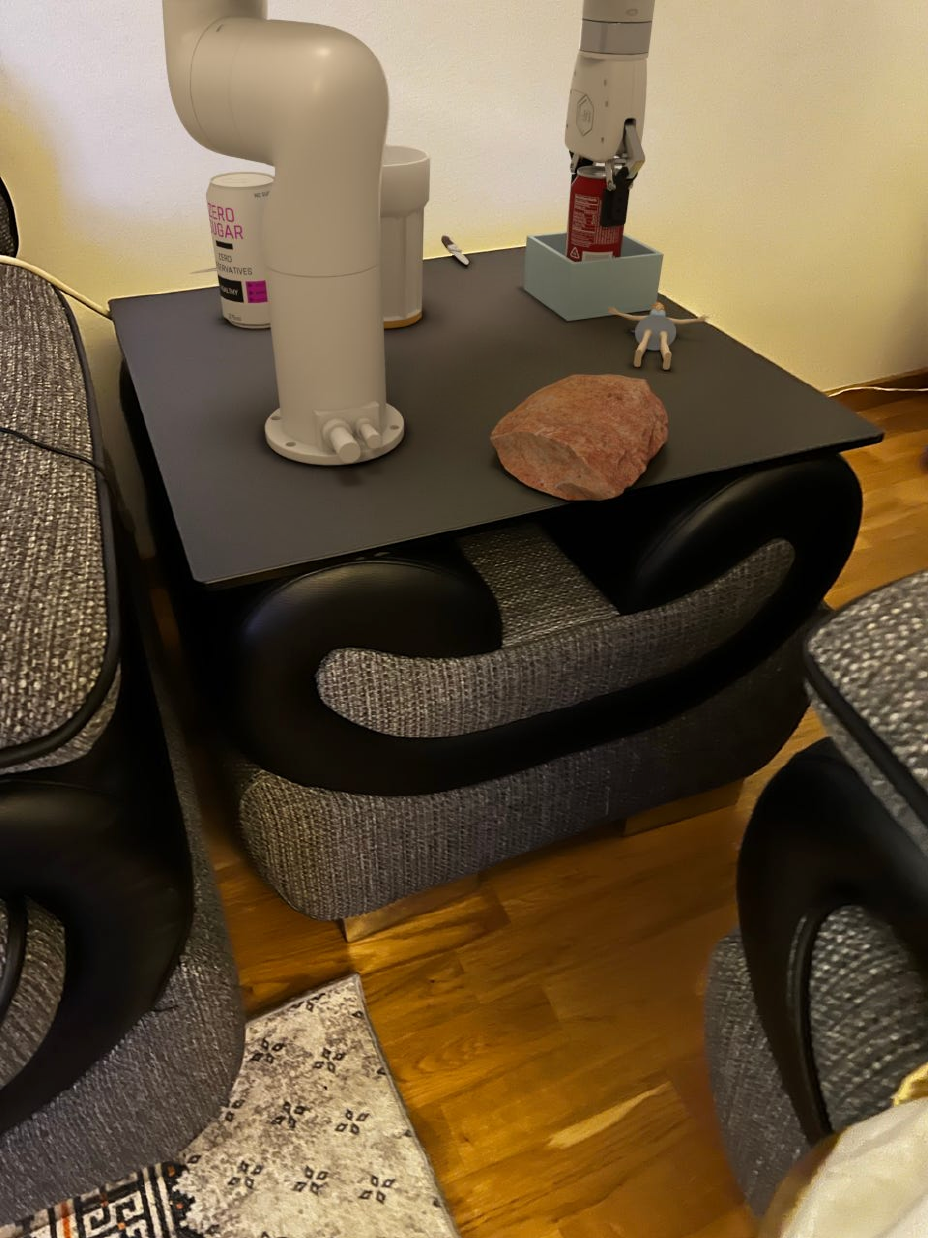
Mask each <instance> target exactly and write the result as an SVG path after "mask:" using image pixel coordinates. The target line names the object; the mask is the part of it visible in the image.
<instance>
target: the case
mask: <svg viewBox="0 0 928 1238" xmlns="http://www.w3.org/2000/svg"><path fill="white" fill-rule="evenodd" d="M566 235H567V231H559V232H549V233H539V234H528V235H526V238H525V239H526V241H525V258H524V272H523V273H524V274H523V290H524V292H527V293H528V294H529V295H531V296H532V297H534V298H535V299H536V300H538V302H540V303H541V304H543V305H544V306H546V307H547V308H549V309H550V310H551V311H553V312H554V313H555V314H557V315H558V316H559V317H561V318H562V319H564V320H565V321H566V322H572V321H578V320H587V319H595V318H600V317H601V318H602V317H608V316H615V315H614V314H611V313H608V312H610V310H609V309H610V308H611V307H613V308H615V309H616V310H617V312H619V313H623V314H632V313H639V312H646V311H652V310H653V309H652V308H653V306H654V304H655V303H656V302H658V301H657V300H658V295H659V289H660V281H661V274H662V269H663V268H662V267H663V261H664V255H665V253H662V252H660V251H659V250H657V249H655V248H653V247H651V246H649V245H648V244H645V243H643V242H641V241H639V240H638V239H635V238H634V237H632V236H630V235H628V234H626V233H624V232H623V240H622V248H621V256H620V257H618V258H609V259H600V260H591V261H582V262H573V261H572V260H570V259H569V258H567V257H565V246H566ZM608 307H609V308H608ZM607 308H608V309H607ZM613 308H611V309H613ZM651 309H652V310H651ZM607 310H609V311H607Z"/></svg>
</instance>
